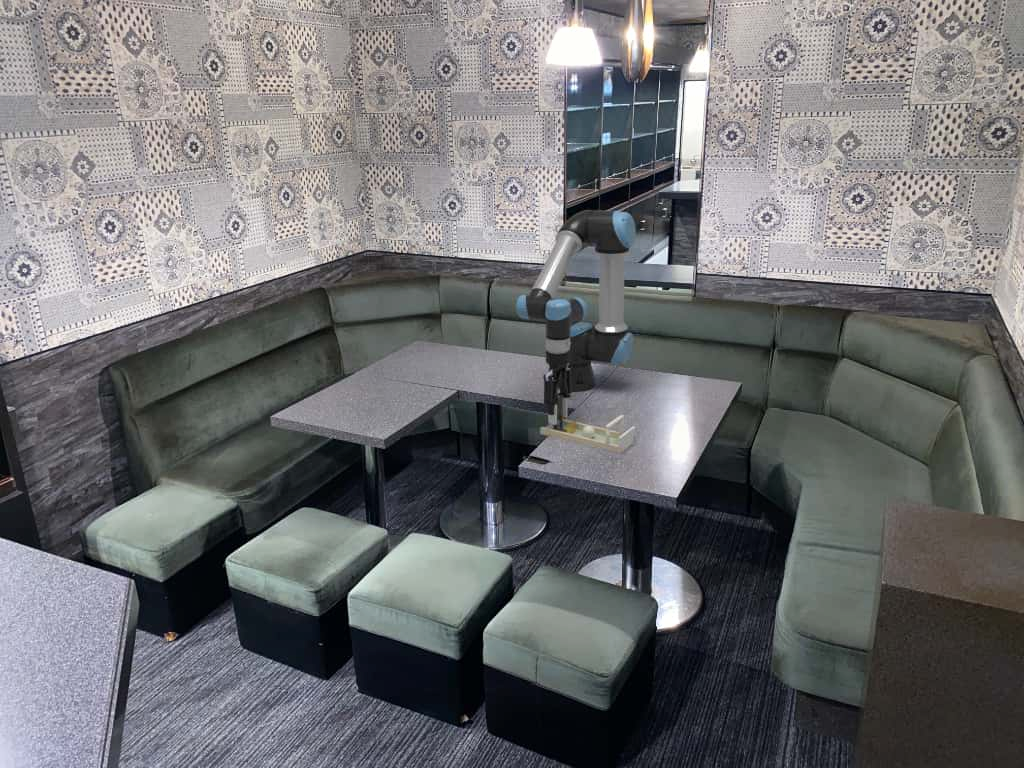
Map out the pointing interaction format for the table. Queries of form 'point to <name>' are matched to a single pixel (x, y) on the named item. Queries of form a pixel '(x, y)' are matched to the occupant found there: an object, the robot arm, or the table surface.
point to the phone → (535, 459)
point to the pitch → (597, 436)
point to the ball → (588, 431)
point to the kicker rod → (561, 418)
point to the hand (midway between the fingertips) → (557, 420)
